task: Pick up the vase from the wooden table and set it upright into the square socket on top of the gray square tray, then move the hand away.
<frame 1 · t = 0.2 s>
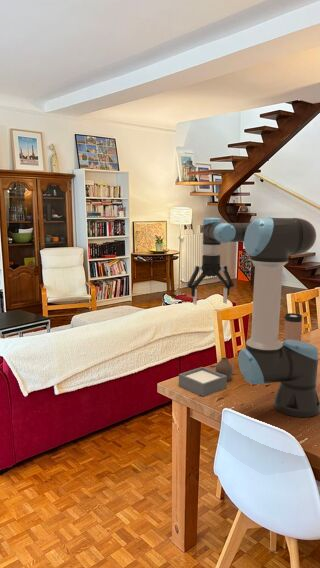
hand: (210, 303, 188), 27 cm above the table, tool pointing down, fingers open, 13 cm apart
travel mug: (291, 357, 203), on the table
gray square tray: (202, 386, 167), on the table
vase: (223, 379, 175), on the table
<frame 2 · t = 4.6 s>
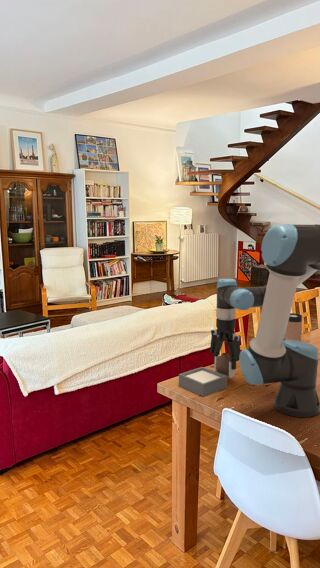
hand: (224, 374, 174), 2 cm above the table, tool pointing down, fingers closed on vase, 7 cm apart
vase: (224, 375, 174), point 2 cm above the table, touching gripper
everything else where it was.
when the fingers open (5 cm above the table, at t = 9.0 s): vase stays where it is, resting on gray square tray.
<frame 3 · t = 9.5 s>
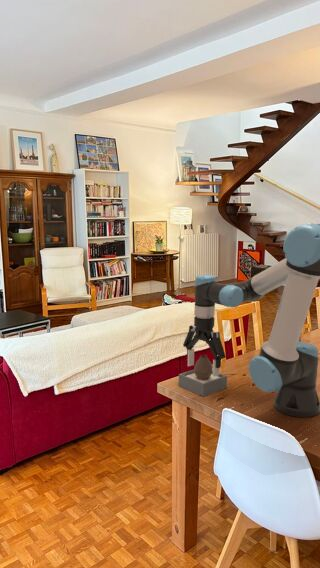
hand: (203, 370, 166), 7 cm above the table, tool pointing down, fingers open, 13 cm apart
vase: (203, 378, 166), point 3 cm above the table, touching gray square tray
everything else where it was.
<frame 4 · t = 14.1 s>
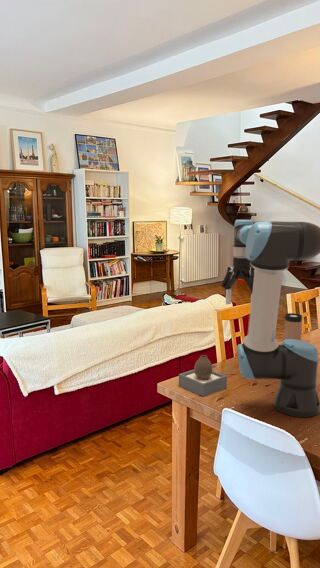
hand: (240, 306, 185), 27 cm above the table, tool pointing down, fingers open, 13 cm apart
nothing on the table moved.
at the end: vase 0.2 cm off-centre on the gray square tray, point 3.4 cm above the gray square tray's base; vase tilted 0°; the gripper is holding nothing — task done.
